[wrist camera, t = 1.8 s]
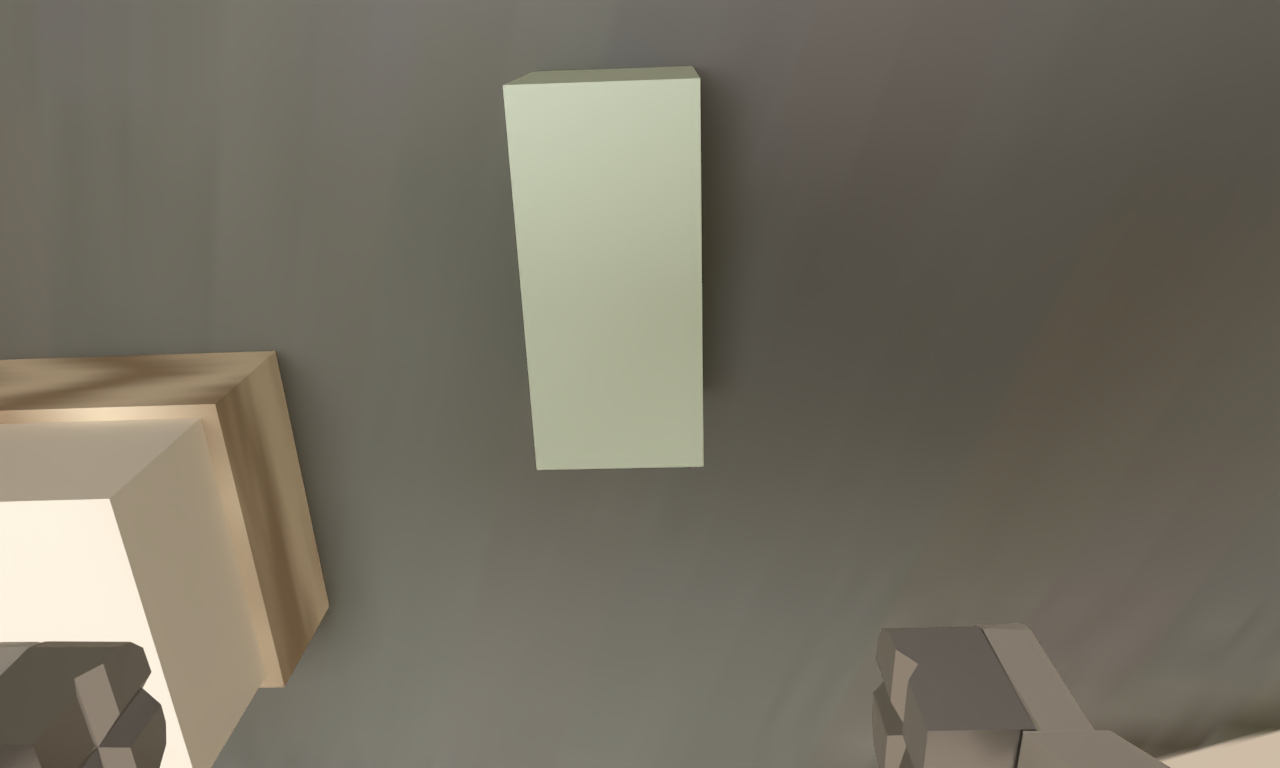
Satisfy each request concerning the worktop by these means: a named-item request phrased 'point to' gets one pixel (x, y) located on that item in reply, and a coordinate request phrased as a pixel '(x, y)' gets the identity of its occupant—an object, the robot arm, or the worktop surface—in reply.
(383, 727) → the worktop surface
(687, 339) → the green bar
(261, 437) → the tower base
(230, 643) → the tower top
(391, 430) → the worktop surface
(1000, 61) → the worktop surface
